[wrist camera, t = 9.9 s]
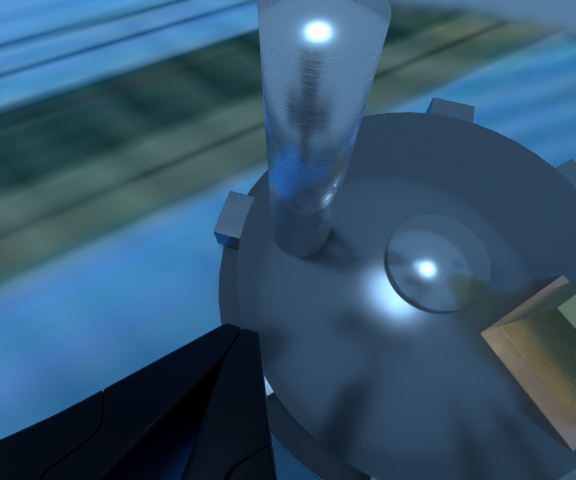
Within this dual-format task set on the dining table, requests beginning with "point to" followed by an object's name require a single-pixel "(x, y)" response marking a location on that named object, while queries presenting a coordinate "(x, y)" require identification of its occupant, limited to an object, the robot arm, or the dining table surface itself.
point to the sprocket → (397, 263)
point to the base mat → (282, 424)
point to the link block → (549, 341)
